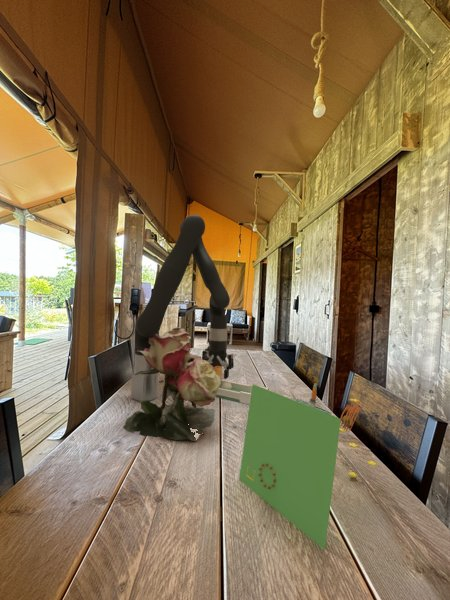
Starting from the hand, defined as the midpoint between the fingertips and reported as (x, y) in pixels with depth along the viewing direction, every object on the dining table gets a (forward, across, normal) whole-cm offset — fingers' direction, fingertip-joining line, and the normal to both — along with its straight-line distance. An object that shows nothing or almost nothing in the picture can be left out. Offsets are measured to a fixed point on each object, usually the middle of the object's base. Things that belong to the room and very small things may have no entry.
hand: (216, 376), depth 120 cm
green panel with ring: (+7, +47, -41) cm, 63 cm away
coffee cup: (+6, -12, +19) cm, 23 cm away
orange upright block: (+5, 0, 0) cm, 5 cm away
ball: (+3, +5, 0) cm, 6 cm away
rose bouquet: (+6, +3, -30) cm, 31 cm away
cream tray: (+6, +9, 0) cm, 11 cm away
